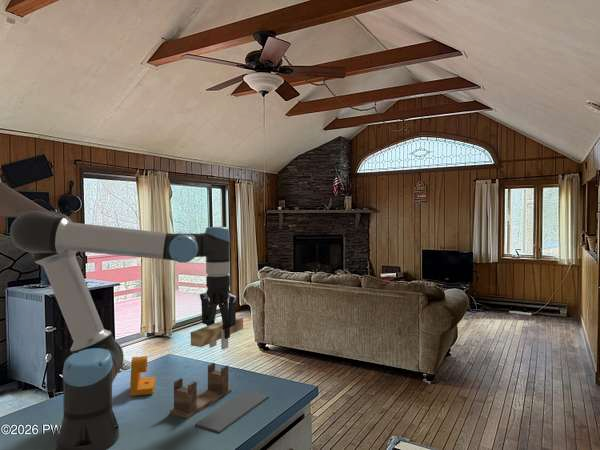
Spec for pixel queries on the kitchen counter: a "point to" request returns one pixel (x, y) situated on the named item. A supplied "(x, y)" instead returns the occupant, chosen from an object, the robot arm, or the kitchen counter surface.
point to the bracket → (193, 403)
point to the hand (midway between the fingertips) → (218, 347)
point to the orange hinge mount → (137, 383)
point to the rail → (213, 333)
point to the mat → (231, 411)
